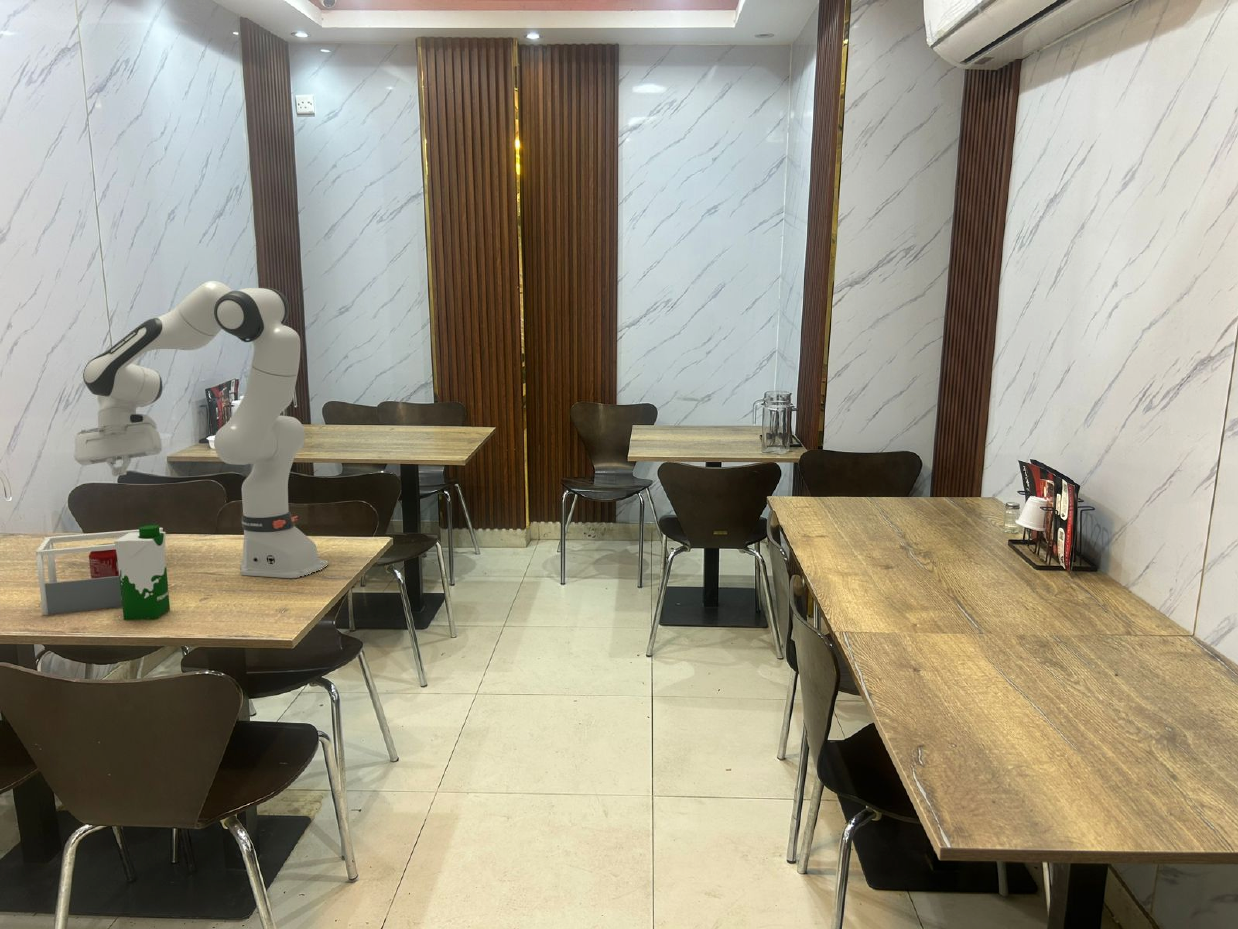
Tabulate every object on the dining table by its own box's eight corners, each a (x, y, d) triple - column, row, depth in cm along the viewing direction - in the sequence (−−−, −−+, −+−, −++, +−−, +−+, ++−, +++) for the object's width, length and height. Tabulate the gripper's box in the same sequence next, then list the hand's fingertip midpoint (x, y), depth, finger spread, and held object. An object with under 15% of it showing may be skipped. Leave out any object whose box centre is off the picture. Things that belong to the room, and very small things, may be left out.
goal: (51, 597, 218) (44, 537, 215) (167, 585, 227) (162, 527, 224) (41, 615, 206) (34, 551, 203) (164, 601, 215) (159, 540, 212)
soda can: (116, 600, 216) (110, 550, 214) (87, 600, 216) (81, 550, 214) (131, 591, 223) (126, 542, 220) (103, 591, 223) (98, 542, 220)
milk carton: (159, 620, 202) (151, 531, 199) (116, 621, 202) (107, 532, 198) (176, 607, 211) (168, 522, 207) (135, 608, 211) (126, 522, 207)
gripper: (69, 426, 236) (69, 477, 232) (153, 414, 239) (155, 464, 235) (80, 435, 242) (81, 485, 238) (163, 423, 245) (165, 472, 240)
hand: (119, 474), depth 236 cm, fingers closed
